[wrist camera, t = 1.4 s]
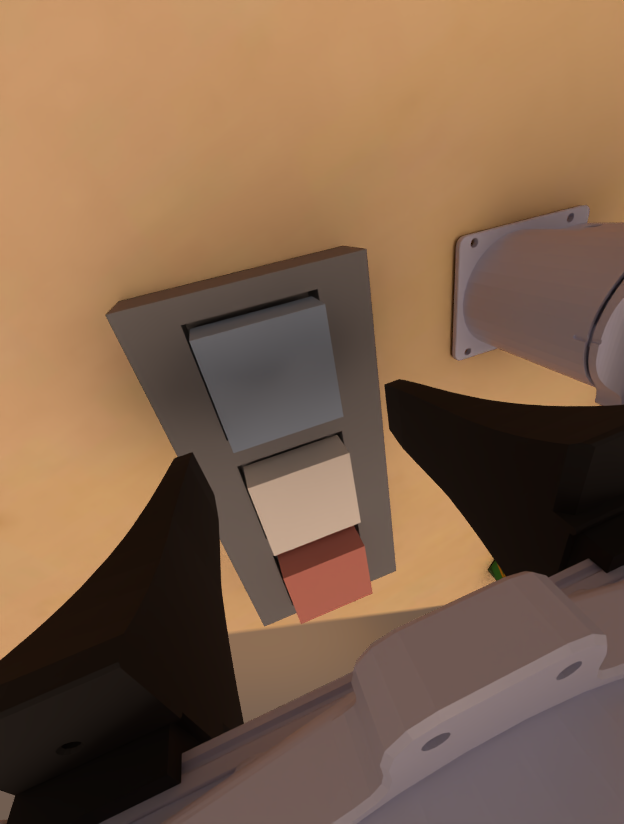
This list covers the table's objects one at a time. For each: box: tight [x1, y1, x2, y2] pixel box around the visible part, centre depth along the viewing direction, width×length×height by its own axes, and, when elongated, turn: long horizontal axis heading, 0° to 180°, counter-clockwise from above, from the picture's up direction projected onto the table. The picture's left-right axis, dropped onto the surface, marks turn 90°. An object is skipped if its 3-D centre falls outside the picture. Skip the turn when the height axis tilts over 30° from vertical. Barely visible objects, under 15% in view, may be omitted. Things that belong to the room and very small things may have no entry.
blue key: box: [189, 296, 344, 453], centre depth 17 cm, size 6×6×2 cm
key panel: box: [106, 246, 396, 626], centre depth 23 cm, size 12×26×3 cm, turn 12°
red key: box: [277, 525, 372, 624], centre depth 26 cm, size 6×6×2 cm
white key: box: [243, 435, 361, 556], centre depth 21 cm, size 6×6×2 cm
